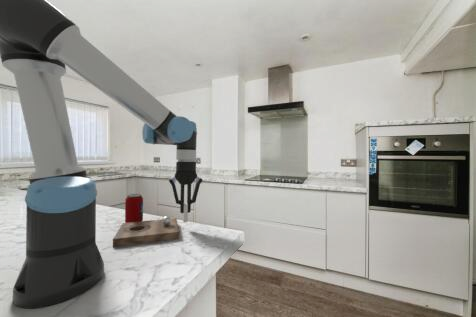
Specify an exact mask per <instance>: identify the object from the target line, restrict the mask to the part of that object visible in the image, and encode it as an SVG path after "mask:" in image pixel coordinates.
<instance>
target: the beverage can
mask: <svg viewBox="0 0 476 317" xmlns="http://www.w3.org/2000/svg"><path fill="white" fill-rule="evenodd" d="M124 203H125V204H124V211H125V212H124V223H128V222H140V221H144V198H143V196H142V194H141V193H131V194H127V196H126V198H125V202H124Z"/></svg>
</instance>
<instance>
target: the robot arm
mask: <svg viewBox="0 0 476 317" xmlns="http://www.w3.org/2000/svg"><path fill="white" fill-rule="evenodd" d="M0 60H1V64H2V66H3V68H5V69H6V70H8V71H9V72H10V73H12V74H13V75H14V80H15V85H16V88H17V89H16V90H17V94H18V98H19V102H20V106H21V111H22V117H23V119H24V120H23V121H24V123H25V129H26V133H27V138H28V143H29V146H30V150H31V151H30V152H31V155H32V159H33V160H32V161H33V165H34V169H35V170H34V172H32V174H31V175H30V176H29V177H28V180H29V181H28V182H29V185H28V187H27V189H26V194H25V196H24V202H25V204H26V221H25V222H26V223H25V224H26V229H25V230H26V233H25V234H26V235H25V239H26V240H25V259H24V262H23V264H22V266H21V269H20V271H19V273H18V276H17V278H16V280H15V283H14V285H13V287H12V302H13V305H15V306H16V307H19V308H24V309H35V308H42V307H48V306H51V305H55V304H60V303H62V302H65V301H68V300H70V299H72V297H73V298H75V297H77V296H79V295H81V294H83V293H86V291H88V290H90V289H92V288H93V287H94V286H96V285H97V284H98V283H99V282H100V281H101V279H102V278H103V277H104V275H105V263H104V262H105V261H104V259H103V257H102V255H101V252H100V250H99V247H98V245H97V241H96V235H97V234H96V233H97V231H96V227H97V226H96V222H97V221H96V219H97V218H96V217H97V216H96V214H97V213H96V212H97V210H96V209H97V205H96V204H97V195H98V190H97V186H96V182H95V181H94V180H93V179H91V178H89V177H88V175H87V174H88V173H87V170H86V168H85V167H83V166H81V165H80V164H79V163H78V158H77V152H76V148H75V144H74V143H75V142H74V138H73V133H72V129H71V124H70V123H71V122H70V118H69V114H68V110H67V109H68V108H67V104H66V98H65V94H64V89H63V83H62V80H61V79H62V77H63V76H64V75H66V73H67V69H66V68H67V67H68V68H69V69H70V70H72V71H73V72H75V73H76V74H77V75H78V76H80V77H82V79H84V80H85V81H87V82H88V83H89V84H91V85H92V86H93V87H95V88H96V89H98V90H99V91H100V92H102V93H103V94H104V95H106V96H107V97H108V98H110V99H112V100H113V101H114V102H115V103H117V104H118V105H119V106H121V107H122V108H123V109H125V110H126V111H128V112H129V113H130V114H132V115H133V116H134V117H136V118H137V119H138V120H140V121H142V123H144V124H143V127H142V132H141V133H142V134H141V135H142V140H143V142H144V143H145V144H148V145H149V144H150V145H163V146H164V145H167V146H176V147H175V148H176V149H175V150H176V151H175V152H176V156H175V157H176V163H175V165H176V166H175V174H174V176H173V177H171V178H169V179H168V181H169V184H170V185H171V187H172V192H173V196H174V201H175V204H177V205H180V207H179V208H180V211H179V212H180V214H182V222H183V223H188V218H189V217H188V216H189V214H188V213H191V207H192V206H191V205H192V204H195V203H196V202H197V197H198V193H199V189H200V185H201V184H202V182H203V178H201V177H199V176H198V174H197V162H196V160H197V138H198V137H197V135H198V133H197V132H198V131H197V130H198V129H197V123H196V122H194V121H192V120H189V118H187V117H184V116H180V115H179V116H178V115H176V114H175V113H174V112H172V111H171V110H170V109H169V108H168V107H167V106H166V105H164V104H163V103H162V102H161V101H159V100H158V99H157V98H156V97H155V96H153V94H151V93H150V92H149V91H147V90H146V89H145V88H144V87H143V86H142V85H141V84H140V83H138V82H137V81H136V80H135V79H133V78H132V77H131V76H130V75H129V74H127V72H125V71H124V70H123V69H121V68H120V66H118V65H117V64H116V63H115V62H113V60H111V59H110V58H109V57H108V56H106V55H105V54H104V53H103V52H101V51H100V50H99V49H98V48H97V47H95V45H94V44H92V43H91V42H90V41H89V40H88V39H86V38H85V37H84V36H83V35H82V33H81V30H80V27H79V26H78V25H77V24H76V23H74V21H72V20H71V19H70V18H69V17H67V16H66V15H65V14H64V13H63V12H62V11H61V10H59V9H58V8H57V7H55V6H54V5H53V4H52V3H50V2H49V1H47V0H0ZM66 66H67V67H66ZM176 180H177V182H178V184H179V185H180V199H179V194H178V191H177V187H176ZM194 182H195V186H194V190H193V194H192V184H194ZM185 186H187V187H186V188H187V190H186V191H187V192H186V203H185ZM67 299H68V300H67Z"/></svg>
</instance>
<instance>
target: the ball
mask: <svg viewBox="0 0 476 317" xmlns="http://www.w3.org/2000/svg"><path fill="white" fill-rule="evenodd" d="M171 219H172V218H171V217H170V216H168V215H166V216H164V217H162V218H161V220H162V224H163V225H165V226H168V225H169V224H170V223H171V221H172V220H171Z"/></svg>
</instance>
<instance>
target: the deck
mask: <svg viewBox="0 0 476 317" xmlns="http://www.w3.org/2000/svg"><path fill="white" fill-rule="evenodd" d="M171 220H172V221H171V223H170V224H169V225H168V226H165V225H163V224H162V219H153V220H152V219H151V220H143V221H140V222H128V223H125V222H123V223H122V224H121V225H120V227H119V228H118V230H117V231H116V233H115V235H114V237H113V239H112V248H115V247H124V246H132V245H141V244H148V243H155V242H164V241H165V242H166V241H172V240H179V239H180V237H179V236H180V230H179V224H178V220H177V217H175V218H171Z"/></svg>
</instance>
